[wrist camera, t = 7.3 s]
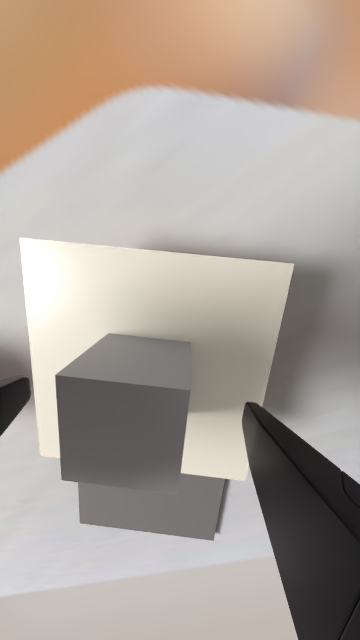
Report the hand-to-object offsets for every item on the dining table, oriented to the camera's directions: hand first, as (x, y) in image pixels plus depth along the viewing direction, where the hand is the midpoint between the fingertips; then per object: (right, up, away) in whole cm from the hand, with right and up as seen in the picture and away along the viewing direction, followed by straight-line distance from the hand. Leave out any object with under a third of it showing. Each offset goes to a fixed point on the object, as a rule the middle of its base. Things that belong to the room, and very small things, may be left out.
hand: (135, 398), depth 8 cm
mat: (-1, -11, +10) cm, 15 cm away
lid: (0, +1, +3) cm, 3 cm away
